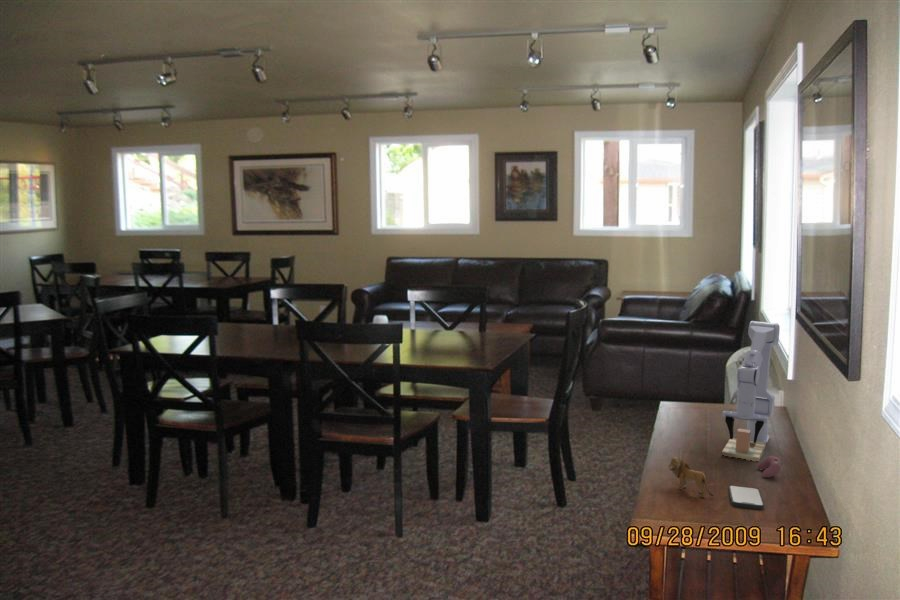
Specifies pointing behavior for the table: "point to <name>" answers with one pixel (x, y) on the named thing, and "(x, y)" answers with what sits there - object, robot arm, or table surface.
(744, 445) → the terracotta block
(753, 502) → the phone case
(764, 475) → the video game controller
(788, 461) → the table surface
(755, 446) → the board
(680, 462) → the lion figurine
